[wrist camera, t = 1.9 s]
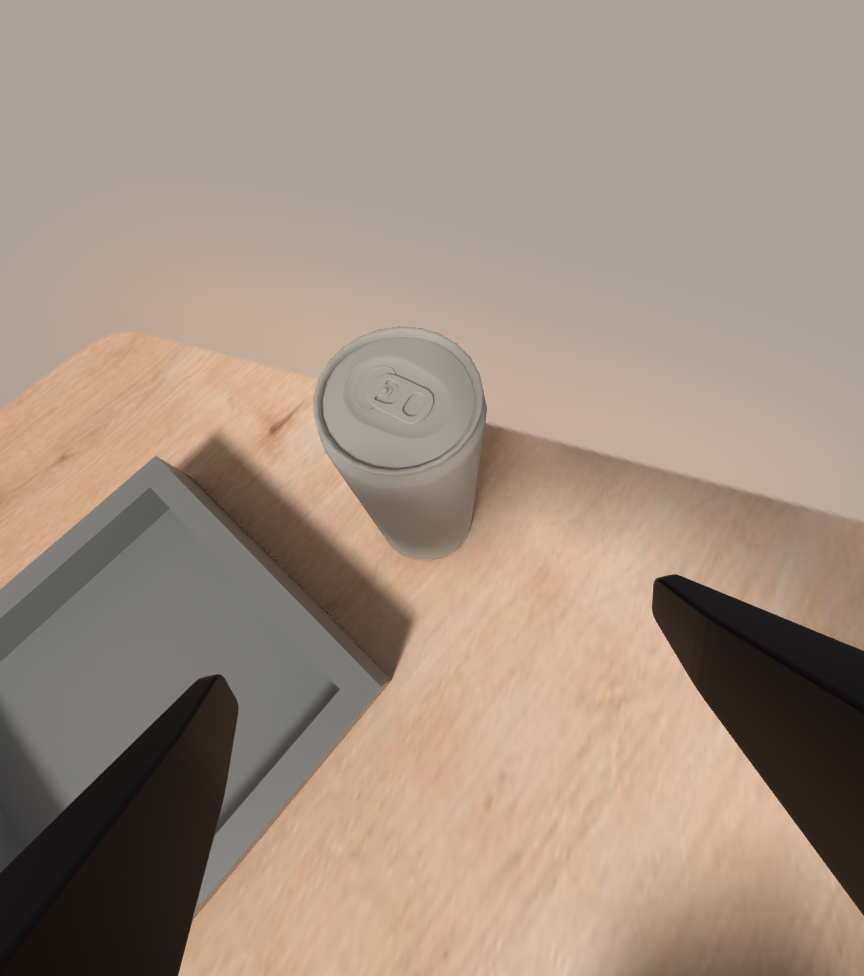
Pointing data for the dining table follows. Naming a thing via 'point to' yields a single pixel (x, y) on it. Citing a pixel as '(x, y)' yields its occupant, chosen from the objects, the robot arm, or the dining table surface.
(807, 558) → the dining table surface
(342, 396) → the beverage can
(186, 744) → the robot arm
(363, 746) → the dining table surface
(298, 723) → the tray
